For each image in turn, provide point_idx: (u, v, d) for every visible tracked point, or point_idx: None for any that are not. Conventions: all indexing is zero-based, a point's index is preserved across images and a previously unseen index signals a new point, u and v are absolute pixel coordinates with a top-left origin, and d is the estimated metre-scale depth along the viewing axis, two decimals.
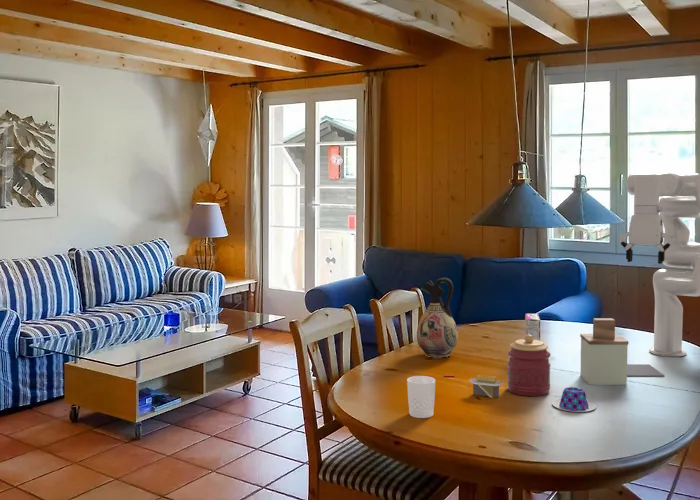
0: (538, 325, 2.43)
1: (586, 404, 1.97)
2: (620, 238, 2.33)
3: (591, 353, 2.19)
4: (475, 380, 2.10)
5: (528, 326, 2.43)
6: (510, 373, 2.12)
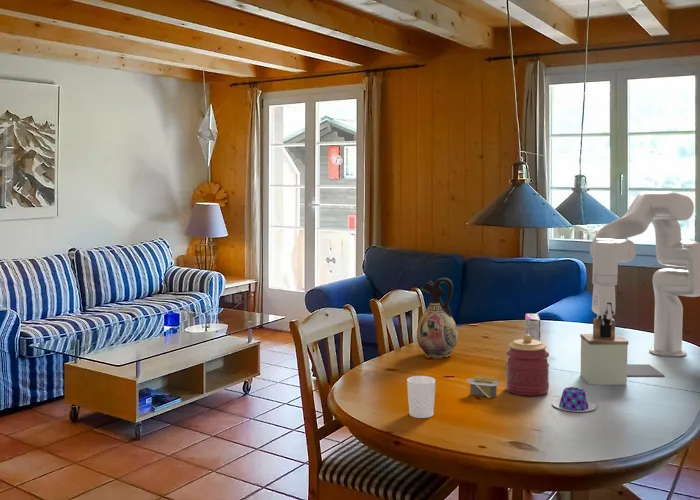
0: (538, 325, 2.43)
1: (585, 404, 1.96)
2: None
3: (591, 353, 2.19)
4: (472, 380, 2.10)
5: (528, 326, 2.43)
6: (508, 373, 2.12)
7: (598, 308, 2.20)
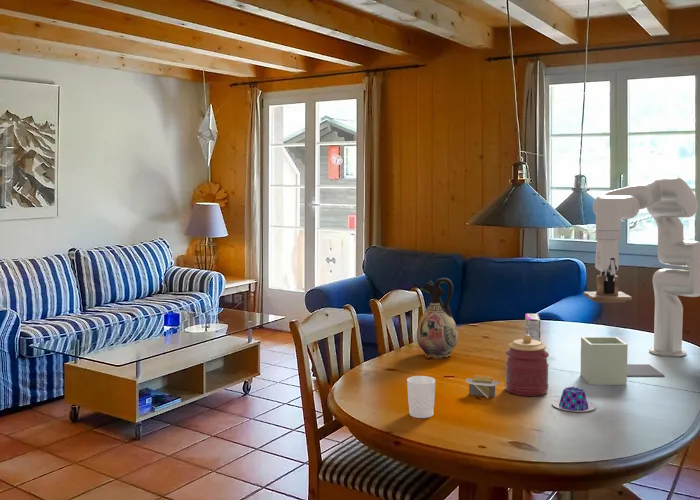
0: (538, 325, 2.43)
1: (585, 404, 1.96)
2: None
3: (591, 353, 2.19)
4: (471, 380, 2.10)
5: (528, 326, 2.43)
6: (508, 373, 2.12)
7: (601, 264, 2.19)
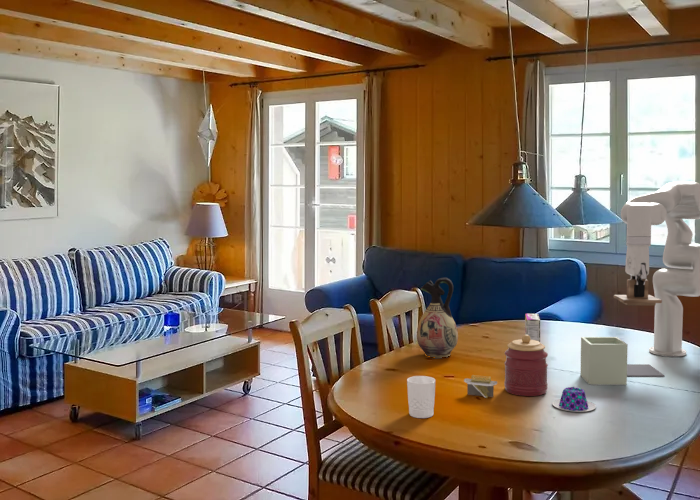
0: (538, 325, 2.43)
1: (584, 405, 1.96)
2: None
3: (591, 353, 2.19)
4: (469, 380, 2.10)
5: (528, 326, 2.43)
6: (507, 374, 2.12)
7: (632, 268, 2.28)
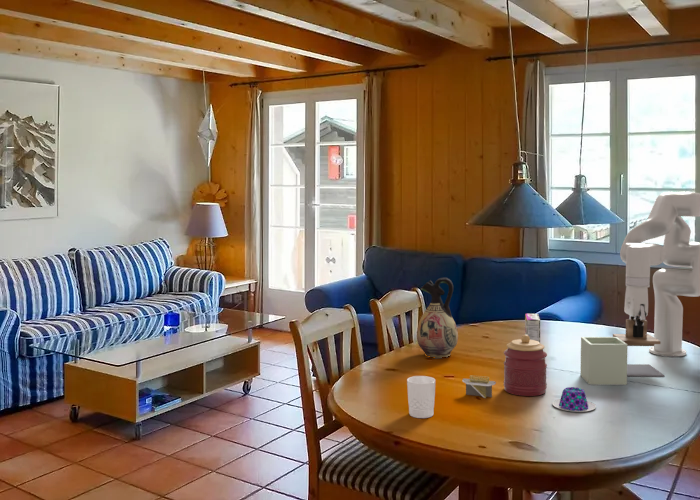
0: (538, 325, 2.43)
1: (584, 405, 1.96)
2: None
3: (591, 353, 2.19)
4: (468, 380, 2.10)
5: (528, 326, 2.43)
6: (506, 374, 2.12)
7: (631, 309, 2.30)
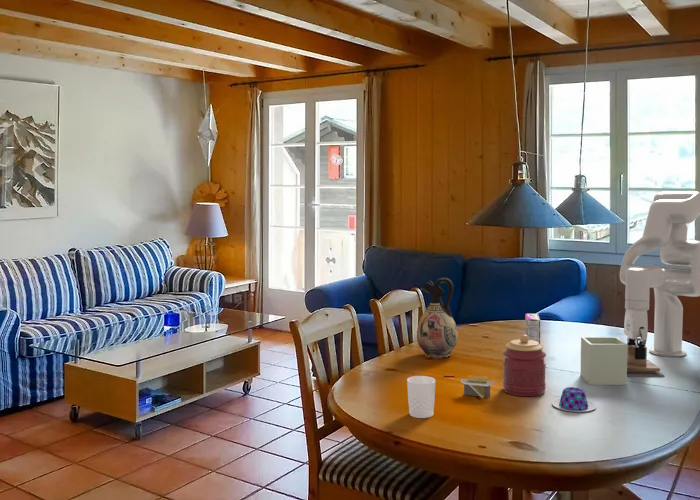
0: (538, 325, 2.43)
1: (584, 405, 1.96)
2: None
3: (591, 353, 2.19)
4: (466, 380, 2.10)
5: (528, 326, 2.43)
6: (505, 374, 2.12)
7: (631, 332, 2.31)
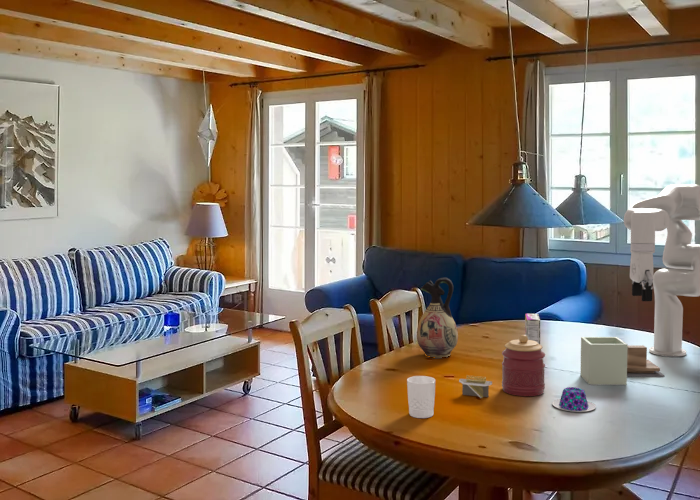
0: (538, 325, 2.43)
1: (583, 405, 1.96)
2: None
3: (591, 353, 2.19)
4: (465, 380, 2.10)
5: (528, 326, 2.43)
6: (504, 374, 2.12)
7: (636, 275, 2.29)
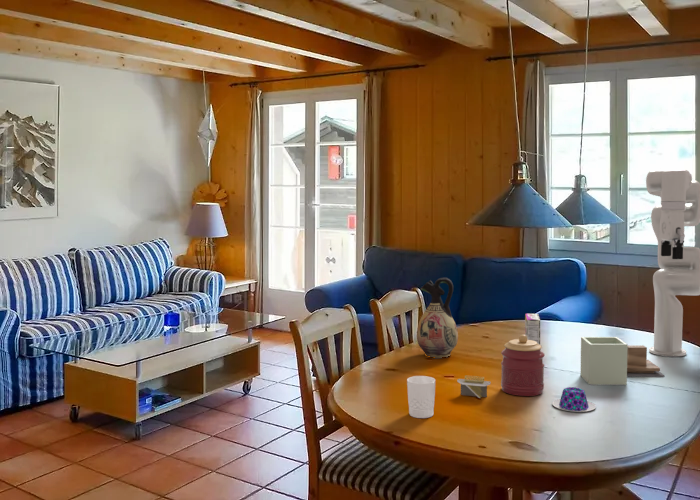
0: (538, 325, 2.43)
1: (583, 405, 1.96)
2: None
3: (591, 353, 2.19)
4: (463, 380, 2.10)
5: (528, 326, 2.43)
6: (504, 373, 2.12)
7: (667, 233, 2.30)
